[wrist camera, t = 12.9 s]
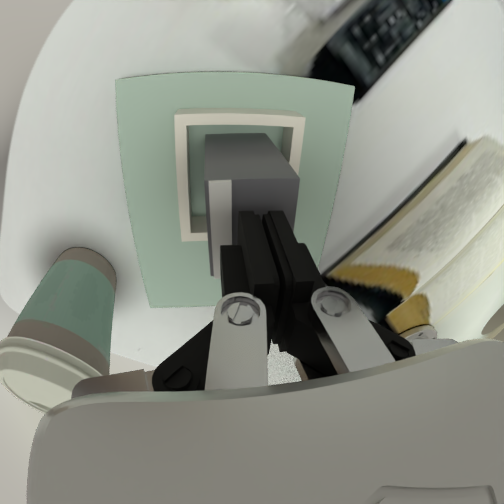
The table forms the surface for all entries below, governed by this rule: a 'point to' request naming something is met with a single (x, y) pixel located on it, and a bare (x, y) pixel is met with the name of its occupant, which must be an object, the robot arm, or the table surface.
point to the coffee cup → (61, 331)
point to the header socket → (290, 120)
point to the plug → (244, 186)
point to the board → (164, 166)
